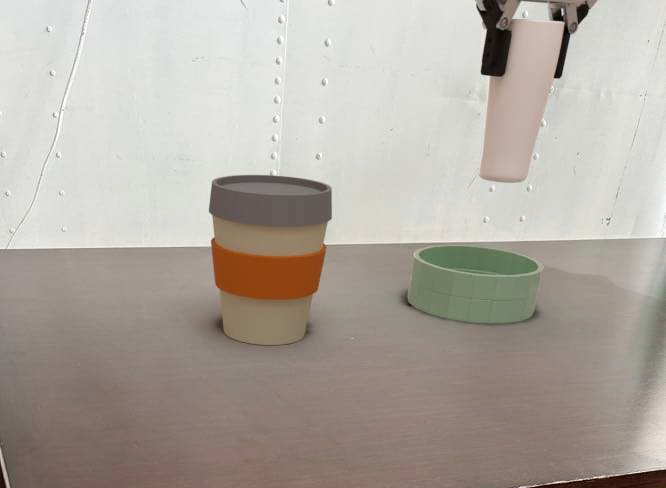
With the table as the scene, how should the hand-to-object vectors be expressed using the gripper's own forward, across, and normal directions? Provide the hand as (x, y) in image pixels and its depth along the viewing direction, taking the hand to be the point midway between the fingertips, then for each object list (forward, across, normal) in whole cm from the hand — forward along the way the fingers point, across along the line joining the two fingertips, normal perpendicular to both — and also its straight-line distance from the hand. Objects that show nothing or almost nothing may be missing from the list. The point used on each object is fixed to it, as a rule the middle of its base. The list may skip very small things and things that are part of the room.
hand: (521, 75), depth 85 cm
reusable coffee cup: (+25, -28, +1) cm, 38 cm away
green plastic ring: (+25, +1, +2) cm, 25 cm away
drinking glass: (+10, 0, 0) cm, 10 cm away
